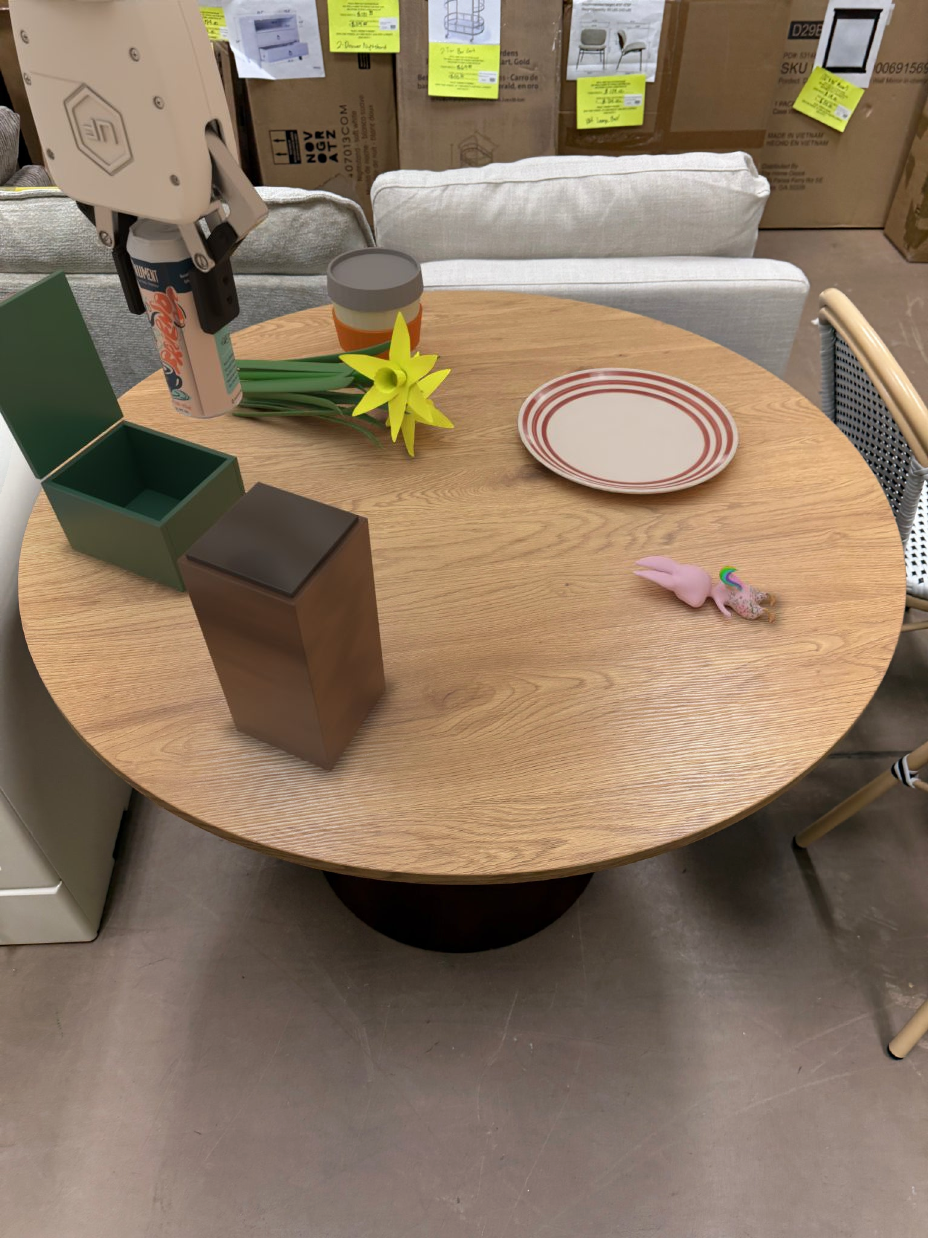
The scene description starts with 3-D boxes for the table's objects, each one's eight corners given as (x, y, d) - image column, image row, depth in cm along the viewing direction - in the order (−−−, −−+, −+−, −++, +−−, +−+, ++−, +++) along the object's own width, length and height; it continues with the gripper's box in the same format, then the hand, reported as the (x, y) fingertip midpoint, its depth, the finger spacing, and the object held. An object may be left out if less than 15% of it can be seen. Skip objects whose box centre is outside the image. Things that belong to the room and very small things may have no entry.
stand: (331, 775, 72) (293, 600, 55) (237, 733, 74) (174, 555, 58) (386, 692, 78) (367, 512, 61) (298, 657, 80) (256, 475, 64)
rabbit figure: (765, 602, 88) (633, 558, 89) (792, 565, 83) (651, 519, 84) (763, 645, 84) (624, 598, 85) (790, 608, 79) (643, 559, 80)
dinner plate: (473, 430, 106) (473, 408, 103) (623, 363, 117) (626, 342, 115) (622, 545, 92) (627, 523, 89) (777, 456, 103) (785, 434, 100)
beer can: (166, 394, 57) (114, 217, 48) (233, 378, 59) (194, 204, 50) (182, 430, 54) (130, 250, 45) (252, 413, 56) (214, 235, 47)
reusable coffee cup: (324, 362, 117) (310, 257, 106) (403, 341, 121) (397, 238, 110) (358, 406, 109) (347, 299, 98) (441, 382, 113) (440, 277, 102)
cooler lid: (63, 270, 78) (26, 263, 80) (-40, 329, 71) (-79, 320, 72) (124, 416, 90) (90, 408, 92) (41, 480, 82) (6, 469, 84)
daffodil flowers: (293, 369, 117) (509, 370, 100) (262, 463, 114) (479, 481, 98) (211, 298, 102) (447, 285, 85) (173, 404, 100) (409, 412, 83)
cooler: (253, 525, 93) (237, 456, 86) (185, 596, 86) (160, 527, 79) (147, 487, 98) (123, 419, 90) (73, 552, 90) (39, 482, 83)
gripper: (-107, -59, 38) (39, 312, 51) (191, -21, 33) (265, 375, 47) (14, -82, 43) (119, 264, 56) (290, -51, 38) (332, 317, 52)
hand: (185, 311), depth 51 cm, fingers closed on beer can, 4 cm apart
